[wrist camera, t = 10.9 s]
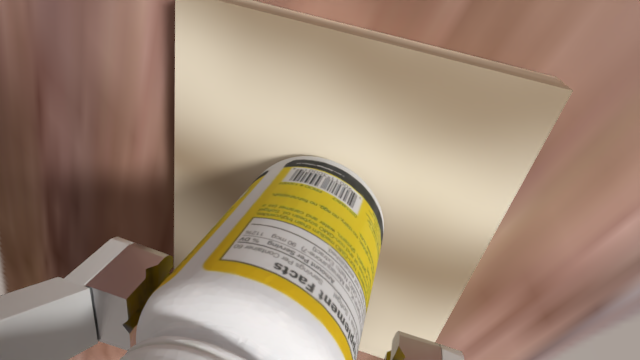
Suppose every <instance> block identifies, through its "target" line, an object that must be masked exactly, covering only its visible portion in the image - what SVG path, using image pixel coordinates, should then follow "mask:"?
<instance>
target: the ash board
mask: <svg viewBox="0 0 640 360" xmlns="http://www.w3.org/2000/svg"><path fill="white" fill-rule="evenodd" d="M572 91H573V90H571V89H570V88H569V87H568V86H566V85H565V84H564V83H563V82H562V81H560V80H559V79H558V78H557V77H555V76H551V75H547V74H543V73H539V72H535V71H531V70H527V69H523V68H519V67H515V66H511V65H507V64H503V63H499V62H495V61H491V60H487V59H483V58H479V57H475V56H471V55H467V54H463V53H459V52H455V51H451V50H447V49H443V48H439V47H436V46H432V45H428V44H424V43H420V42H416V41H412V40H408V39H404V38H400V37H396V36H392V35H388V34H384V33H380V32H376V31H372V30H368V29H364V28H360V27H356V26H352V25H348V24H344V23H340V22H336V21H332V20H328V19H324V18H320V17H317V16H313V15H309V14H305V13H301V12H297V11H293V10H289V9H285V8H281V7H277V6H273V5H269V4H265V3H261V2H257V1H253V0H175V145H174V270H175V268H176V267H177V266H178V265H179V264H180V263H181V262H182V261H183V260H184V259H185V258H186V257H187V256H188V254H189V253H190V252H191V251H192V250H193V249H194V248H195V247H196V246H197V245H198V244H199V242H200V241H201V240H202V239H203V238H204V237H205V236H206V235H207V234H208V232H209V231H210V230H211V229H212V228H213V227H214V226H215V225H216V224H217V223H218V221H219V220H220V219H221V218H222V217H223V216H224V215H225V213H226V212H227V211H228V210H229V209H230V208H231V207H232V206H233V205H234V203H235V202H236V201H237V200H238V199H239V198H240V197H241V196H242V194H243V193H244V192H245V191H246V190H247V189H248V188H249V187H250V186H251V184H252V183H253V182H254V181H255V180H256V179H257V178H258V177H259V176H260V175H261V174H262V173H263V172H264V171H265V170H266V169H268V168H269V167H271V166H272V165H274V164H276V163H278V162H280V161H282V160H285V159H288V158H292V157H299V156H314V157H321V158H325V159H329V160H332V161H334V162H337V163H339V164H342V165H343V166H345V167H347V168H348V169H350V170H351V171H353V172H354V173H356V174H357V175H358V176H359V177H360V178H361V179H362V180H363V181H364V182H365V183H366V184H367V185H368V186H369V188H370V189H371V190H372V192H373V194H374V195H375V197H376V198H377V201H378V203H379V205H380V207H381V211H382V215H383V220H384V233H383V239H382V245H381V249H380V254H379V259H378V263H377V268H376V273H375V277H374V282H373V286H372V291H371V295H370V300H369V304H368V308H367V313H366V317H365V321H364V326H363V331H362V336H361V340H360V345H359V349H358V350H359V351H362V352H365V353H368V354H371V355H374V356H377V357H380V358H383V359H384V358H385V355H386V353H387V352H388V351H391V348H392V340H393V338H394V336H395V334H396V332H397V331H401V332H404V333H407V334H410V335H413V336H416V337H419V338H423V339H426V340H429V341H432V342H435V341H436V339H437V337H438V336H439V334H440V332H441V330H442V328H443V326H444V325H445V323H446V321H447V319H448V317H449V316H450V314H451V312H452V310H453V308H454V306H455V305H456V303H457V301H458V299H459V297H460V295H461V294H462V292H463V290H464V288H465V286H466V285H467V283H468V281H469V279H470V277H471V275H472V274H473V272H474V270H475V268H476V266H477V264H478V263H479V261H480V259H481V257H482V255H483V254H484V252H485V250H486V248H487V246H488V244H489V243H490V241H491V239H492V237H493V235H494V234H495V232H496V230H497V228H498V226H499V224H500V223H501V221H502V219H503V217H504V215H505V213H506V212H507V210H508V208H509V206H510V204H511V203H512V201H513V199H514V197H515V195H516V193H517V192H518V190H519V188H520V186H521V184H522V182H523V181H524V179H525V177H526V175H527V173H528V172H529V170H530V168H531V166H532V164H533V162H534V161H535V159H536V157H537V155H538V153H539V152H540V150H541V148H542V146H543V144H544V142H545V141H546V139H547V137H548V135H549V133H550V131H551V130H552V128H553V126H554V124H555V122H556V121H557V119H558V117H559V115H560V113H561V111H562V110H563V108H564V106H565V104H566V102H567V101H568V99H569V97H570V95H571V93H572Z"/></svg>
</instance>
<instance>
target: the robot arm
mask: <svg viewBox="0 0 640 360" xmlns="http://www.w3.org/2000/svg"><path fill="white" fill-rule="evenodd" d="M173 267H174V266H173V257H172V256H170V255H168V254H165V253H162V252H160V251H157V250H154V249H151V248H149V247H146V246H143V245H140V244H138V243H134V242H131V241H129V240H126V239H123V238H120V237H115V238H112V239H110V240H109V241H107V242H106V243H105V244H104V245H103V246H101V247H100V248H99V249H98V250H97V251H96V252H94V253H93V254H92V255H91V256H90V257H88V258H87V259H86V260H85V261H84V262H83V263H81V264H80V265H79V266H78V267H77V268H76V269H74V270H73V271H72V272H71V273H70V274H68V275H67V276H66V277H65V278H64V279H63V278H60V277H56V278H53V279H50V280H47V281H44V282H41V283H38V284H35V285H31V286H28V287H25V288H22V289H19V290H16V291H13V292H10V293H7V294H4V295H1V296H0V360H68V359H70V358H72V357H74V356H75V355H77V354H79V353H81V352H83V351H84V350H86V349H88V348H90V347H92V346H93V345H95V344H97V343H98V341H100V342H103V343H106V344H109V345H112V346H116V347H119V348H122V349H125V350H129V349H130V348H131V347H132V346H134V345H136V331H137V325H138V321H139V318H140V315H141V312H142V310H143V308H144V306H145V304H146V302H147V301H148V299H149V297H150V296H151V295H152V293H153V292H154V291H155V290H156V289H157V288H158V287H159V286H160V285H161V284H162V282H163V281H164V280H165V279H166V278H167V277H168V276H169V275H170V273H169V272H170V270H171V269H172V268H173ZM384 360H464V355H463V354H462V352H461V351H459V350H456V349H453V348H450V347H446V346H443V345H439V344H438V343H435V342H432V341H429V340H426V339H423V338H419V337H416V336H413V335H410V334H407V333H404V332H401V331H397V332H396V334H395V336H394V338H393V340H392V348H391V351H388V352H387V353H386V355H385V358H384Z"/></svg>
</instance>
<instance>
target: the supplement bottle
mask: <svg viewBox="0 0 640 360" xmlns="http://www.w3.org/2000/svg"><path fill="white" fill-rule="evenodd" d="M383 233H384V220H383V215H382V211H381V207H380V205H379V203H378V201H377V198H376V197H375V195H374V194H373V192H372V190H371V189H370V188H369V186H368V185H367V184H366V183H365V182H364V181H363V180H362V179H361V178H360V177H359V176H358V175H357V174H356V173H354V172H353V171H351V170H350V169H348V168H347V167H345V166H343V165H342V164H339V163H337V162H334V161H332V160H329V159H325V158H321V157H314V156H299V157H292V158H288V159H285V160H282V161H280V162H278V163H276V164H274V165H272V166H271V167H269V168H268V169H266V170H265V171H264V172H263V173H262V174H261V175H260V176H259V177H258V178H257V179H256V180H255V181H254V182H253V183H252V184H251V186H250V187H249V188H248V189H247V190H246V191H245V192H244V193H243V194H242V196H241V197H240V198H239V199H238V200H237V201H236V202H235V203H234V205H233V206H232V207H231V208H230V209H229V210H228V211H227V212H226V213H225V215H224V216H223V217H222V218H221V219H220V220H219V221H218V223H217V224H216V225H215V226H214V227H213V228H212V229H211V230H210V231H209V232H208V234H207V235H206V236H205V237H204V238H203V239H202V240H201V241H200V242H199V244H198V245H197V246H196V247H195V248H194V249H193V250H192V251H191V252H190V253H189V254H188V256H187V257H186V258H185V259H184V260H183V261H182V262H181V263H180V264H179V265H178V266H177V267H176V268H175V270H174V271H173V272H172V273H171V274H170V275H169V276H168V277H167V278H166V279H165V280H164V281H163V282H162V284H161V285H160V286H159V287H158V288H157V289H156V290H155V291H154V292H153V293H152V295H151V296H150V297H149V299H148V301H147V302H146V304H145V306H144V308H143V310H142V312H141V315H140V318H139V321H138V325H137V331H136V345H134V346H132V347H131V348H130V349H129V350H128V351H127V353H126V354H125V355H124V356H123V357H122V358H121V359H120V360H356V358H357V354H358V349H359V345H360V340H361V336H362V331H363V326H364V321H365V317H366V313H367V308H368V304H369V300H370V295H371V291H372V286H373V282H374V277H375V273H376V268H377V263H378V259H379V254H380V249H381V245H382V239H383Z"/></svg>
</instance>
